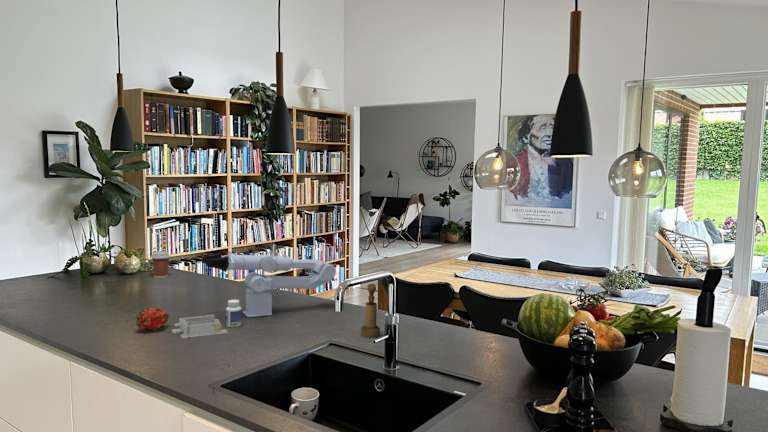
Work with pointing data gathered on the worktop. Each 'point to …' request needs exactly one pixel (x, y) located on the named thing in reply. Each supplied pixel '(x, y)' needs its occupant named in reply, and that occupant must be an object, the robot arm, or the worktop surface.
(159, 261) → the coffee cup
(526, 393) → the worktop surface
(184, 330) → the socket
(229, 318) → the pill bottle
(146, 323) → the dragon fruit
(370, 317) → the brown wooden tall piece
